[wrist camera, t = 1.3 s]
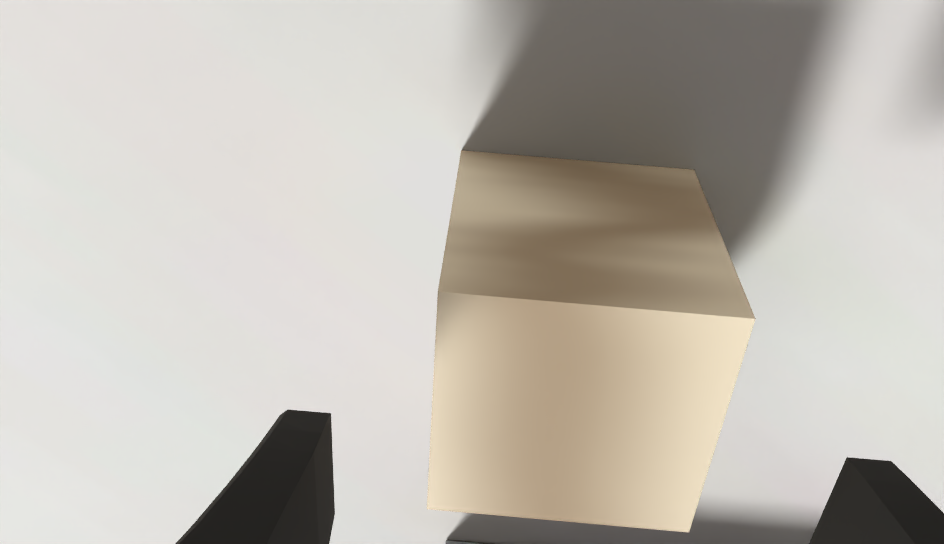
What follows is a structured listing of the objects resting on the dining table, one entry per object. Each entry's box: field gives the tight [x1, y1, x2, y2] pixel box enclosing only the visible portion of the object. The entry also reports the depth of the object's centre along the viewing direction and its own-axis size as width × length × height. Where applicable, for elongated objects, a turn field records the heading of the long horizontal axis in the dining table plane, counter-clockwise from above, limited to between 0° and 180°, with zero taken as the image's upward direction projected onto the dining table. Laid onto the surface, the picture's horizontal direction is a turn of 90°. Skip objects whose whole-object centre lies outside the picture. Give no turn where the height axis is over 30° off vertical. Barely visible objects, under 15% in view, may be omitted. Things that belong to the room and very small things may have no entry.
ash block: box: [427, 150, 755, 532], centre depth 15 cm, size 4×4×5 cm
